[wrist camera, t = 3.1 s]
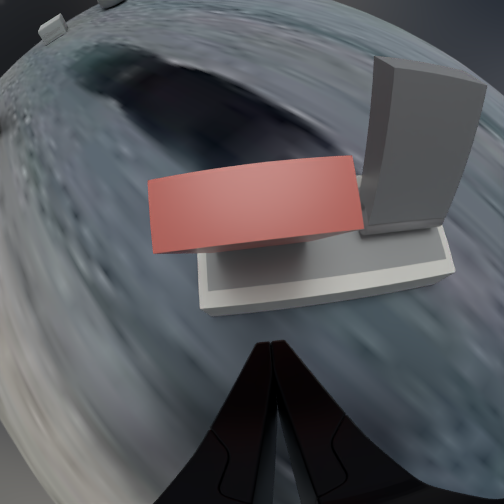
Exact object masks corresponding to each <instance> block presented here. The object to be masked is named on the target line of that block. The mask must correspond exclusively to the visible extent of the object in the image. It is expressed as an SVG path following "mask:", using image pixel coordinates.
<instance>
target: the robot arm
mask: <svg viewBox="0 0 504 504" xmlns="http://www.w3.org/2000/svg"><path fill="white" fill-rule="evenodd" d="M276 397H277V398H276ZM277 406H278V412H279V417H280V421H281V425H282V429H283V433H284V437H285V441H286V445H287V449H288V453H289V457H290V461H291V465H292V469H293V473H294V477H295V481H296V485H297V489H298V493H299V496H300V500H301V504H504V498H503V499H488V498H482V497H477V496H471V495H467V494H462V493H457V492H453V491H449V490H445V489H441V488H437V487H434V486H431V485H428V484H426V483H424V482H422V481H420V480H418V479H417V478H415V477H414V476H413V475H411V474H410V473H409V472H407V471H406V470H405V469H404V468H402V467H401V466H400V465H399V464H398V463H396V462H395V461H394V460H393V459H392V458H390V457H389V456H388V455H387V454H386V453H384V452H383V451H382V450H381V449H380V448H378V447H377V446H376V445H375V444H374V443H373V442H372V441H371V440H370V439H369V438H368V437H366V435H365V434H364V433H363V432H362V431H361V430H360V429H359V428H358V427H357V426H356V425H355V424H354V422H353V421H352V420H351V419H350V418H349V417H348V415H345V414H346V413H345V412H344V411H343V410H342V408H341V407H340V406H339V405H338V404H337V403H336V401H335V400H334V399H333V398H332V397H331V395H330V394H329V393H328V392H327V391H326V389H325V388H324V387H323V386H322V385H321V383H320V382H319V381H318V380H317V379H316V377H315V376H314V375H313V374H312V372H311V371H310V370H309V369H308V368H307V366H306V365H305V364H304V363H303V361H302V360H301V359H300V358H299V357H298V355H297V354H296V353H295V352H294V350H293V349H292V348H291V347H290V345H289V344H288V343H287V342H286V341H285V340H277V341H272V342H271V343H270V342H259V343H256V344H255V346H254V348H253V350H252V352H251V354H250V356H249V357H248V359H247V361H246V363H245V365H244V367H243V369H242V371H241V373H240V374H239V376H238V378H237V380H236V382H235V384H234V386H233V387H232V389H231V391H230V393H229V395H228V397H227V398H226V400H225V402H224V404H223V406H222V407H221V409H220V411H219V413H218V415H217V416H216V418H215V420H214V422H213V423H212V425H211V427H210V429H211V430H208V432H207V434H206V435H205V437H204V439H203V441H202V442H201V444H200V445H199V447H198V449H197V450H196V452H195V453H194V455H193V456H192V457H191V459H190V460H189V461H188V463H187V464H186V465H185V467H184V468H183V469H182V471H181V472H180V473H179V474H178V475H177V477H176V478H175V479H174V480H173V481H172V483H171V484H170V485H169V486H168V487H167V488H166V490H165V491H164V492H163V493H162V494H161V495H160V497H159V498H158V499H157V500H156V501H155V502H154V503H153V504H272V500H273V486H274V471H275V454H276V436H277Z"/></svg>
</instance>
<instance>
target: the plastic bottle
mask: <svg viewBox="0 0 504 504" xmlns="http://www.w3.org/2000/svg"><path fill="white" fill-rule="evenodd" d="M122 1H123V0H98V3H99V5H100V6H101V7H102V8H109V7H112V6H115V5H117V4H119V3H120V2H122Z"/></svg>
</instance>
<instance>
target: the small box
mask: <svg viewBox="0 0 504 504" xmlns="http://www.w3.org/2000/svg"><path fill="white" fill-rule="evenodd" d="M67 27H68V26H67V24H66V22H65V20H64V18H63V16H62V15H61V14H59V15H57V16H56V17H54V18H53V19H51V20H49V21H48V22H46V23H45V24H43V25H41V27H40V29H39V31H38V33H39V35H40V36H41V38H42V40H43V42H44V44H45V45H48V44H49V43H51V42H52V41H54V40H55V39H57V38H59V37H60V36H62V35H63V34H65V33H67Z"/></svg>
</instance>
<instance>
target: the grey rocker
mask: <svg viewBox="0 0 504 504" xmlns="http://www.w3.org/2000/svg"><path fill="white" fill-rule="evenodd" d="M486 89H487V85H486V84H484V83H482V82H481V81H479V80H478V79H476V78H474V77H473V76H471V75H469V74H468V73H466V72H464V71H461V70H457V69H453V68H449V67H444V66H439V65H434V64H429V63H424V62H418V61H412V60H405V59H398V58H389V57H380V56H374V69H373V85H372V97H371V109H370V119H369V128H368V136H367V144H366V152H365V159H364V166H363V173H362V179H361V186H360V192H359V197H360V203H361V210H362V217H363V224H364V229H361V230H360V232H361V234H362V235H371V234H379V233H388V232H397V231H406V230H415V229H423V228H432V227H440V226H441V225H442V224H443V222H444V218H445V217H446V215H447V213H448V210H449V208H450V205H451V203H452V201H453V198H454V196H455V193H456V190H457V188H458V185H459V183H460V180H461V177H462V174H463V171H464V169H465V166H466V163H467V160H468V157H469V154H470V151H471V147H472V144H473V141H474V137H475V134H476V130H477V127H478V123H479V119H480V115H481V111H482V107H483V103H484V99H485V94H486Z"/></svg>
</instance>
